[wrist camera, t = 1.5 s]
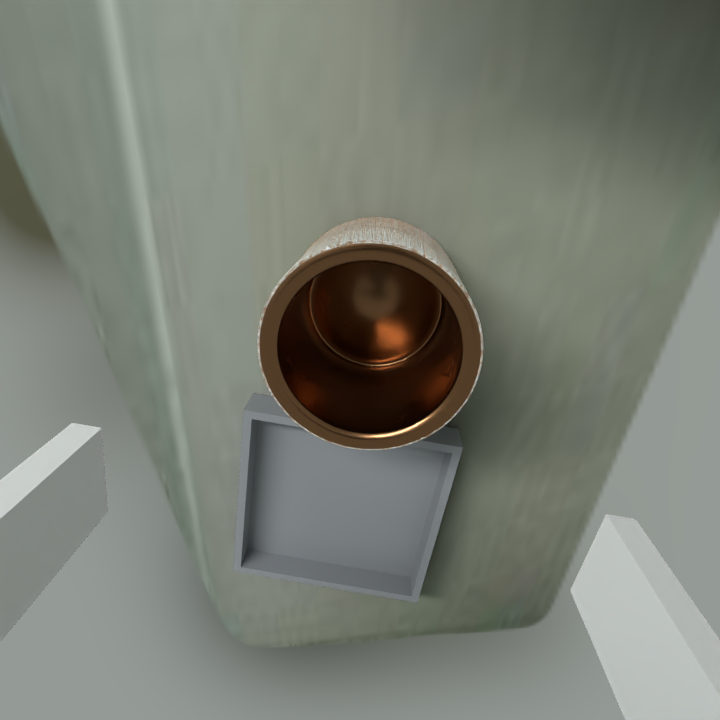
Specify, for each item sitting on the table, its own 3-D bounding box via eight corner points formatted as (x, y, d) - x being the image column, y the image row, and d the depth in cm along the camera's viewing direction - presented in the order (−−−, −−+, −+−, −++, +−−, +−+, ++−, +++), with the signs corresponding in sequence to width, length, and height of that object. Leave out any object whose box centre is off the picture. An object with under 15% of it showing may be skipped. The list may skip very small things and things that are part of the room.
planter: (465, 365, 32) (493, 441, 23) (312, 384, 33) (283, 463, 24) (450, 201, 28) (478, 218, 19) (277, 230, 29) (227, 258, 20)
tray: (253, 393, 34) (243, 410, 31) (458, 428, 34) (462, 447, 31) (242, 547, 40) (232, 571, 37) (415, 577, 40) (417, 602, 37)
